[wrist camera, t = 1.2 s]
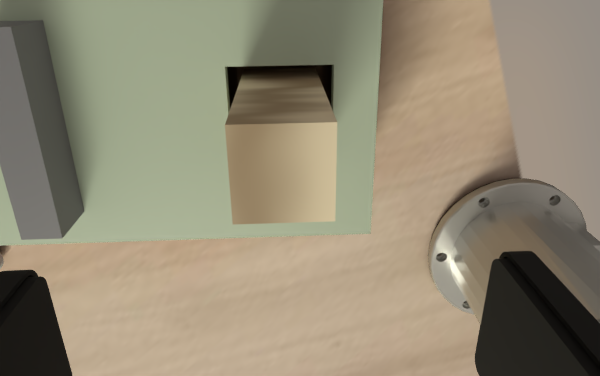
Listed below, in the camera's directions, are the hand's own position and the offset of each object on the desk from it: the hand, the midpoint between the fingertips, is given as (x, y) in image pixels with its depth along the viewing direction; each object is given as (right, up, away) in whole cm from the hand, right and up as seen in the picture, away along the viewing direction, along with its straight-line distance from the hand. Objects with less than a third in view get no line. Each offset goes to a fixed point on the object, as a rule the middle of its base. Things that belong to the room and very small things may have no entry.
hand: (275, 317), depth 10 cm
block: (-1, +8, +19) cm, 20 cm away
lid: (-8, +7, +15) cm, 19 cm away
